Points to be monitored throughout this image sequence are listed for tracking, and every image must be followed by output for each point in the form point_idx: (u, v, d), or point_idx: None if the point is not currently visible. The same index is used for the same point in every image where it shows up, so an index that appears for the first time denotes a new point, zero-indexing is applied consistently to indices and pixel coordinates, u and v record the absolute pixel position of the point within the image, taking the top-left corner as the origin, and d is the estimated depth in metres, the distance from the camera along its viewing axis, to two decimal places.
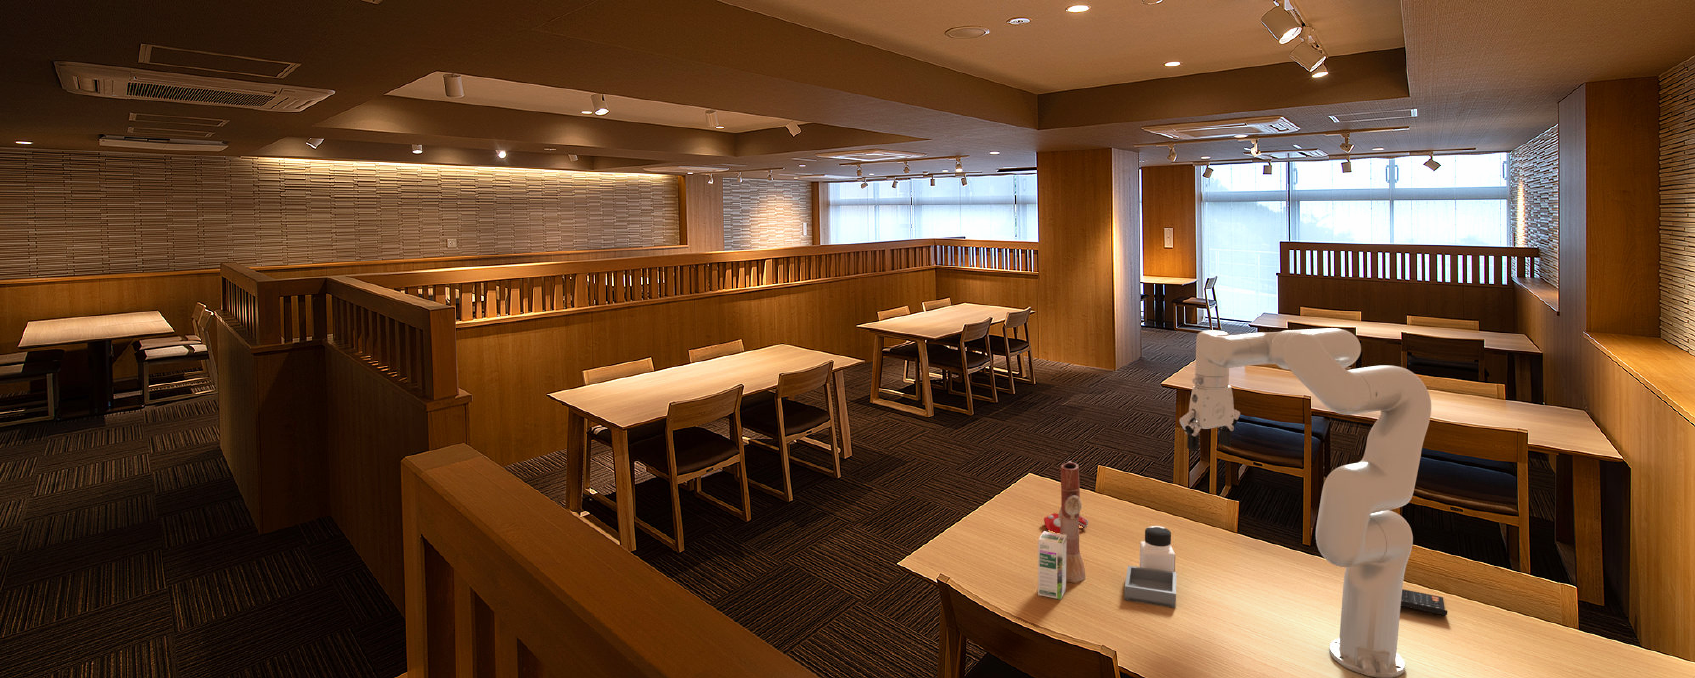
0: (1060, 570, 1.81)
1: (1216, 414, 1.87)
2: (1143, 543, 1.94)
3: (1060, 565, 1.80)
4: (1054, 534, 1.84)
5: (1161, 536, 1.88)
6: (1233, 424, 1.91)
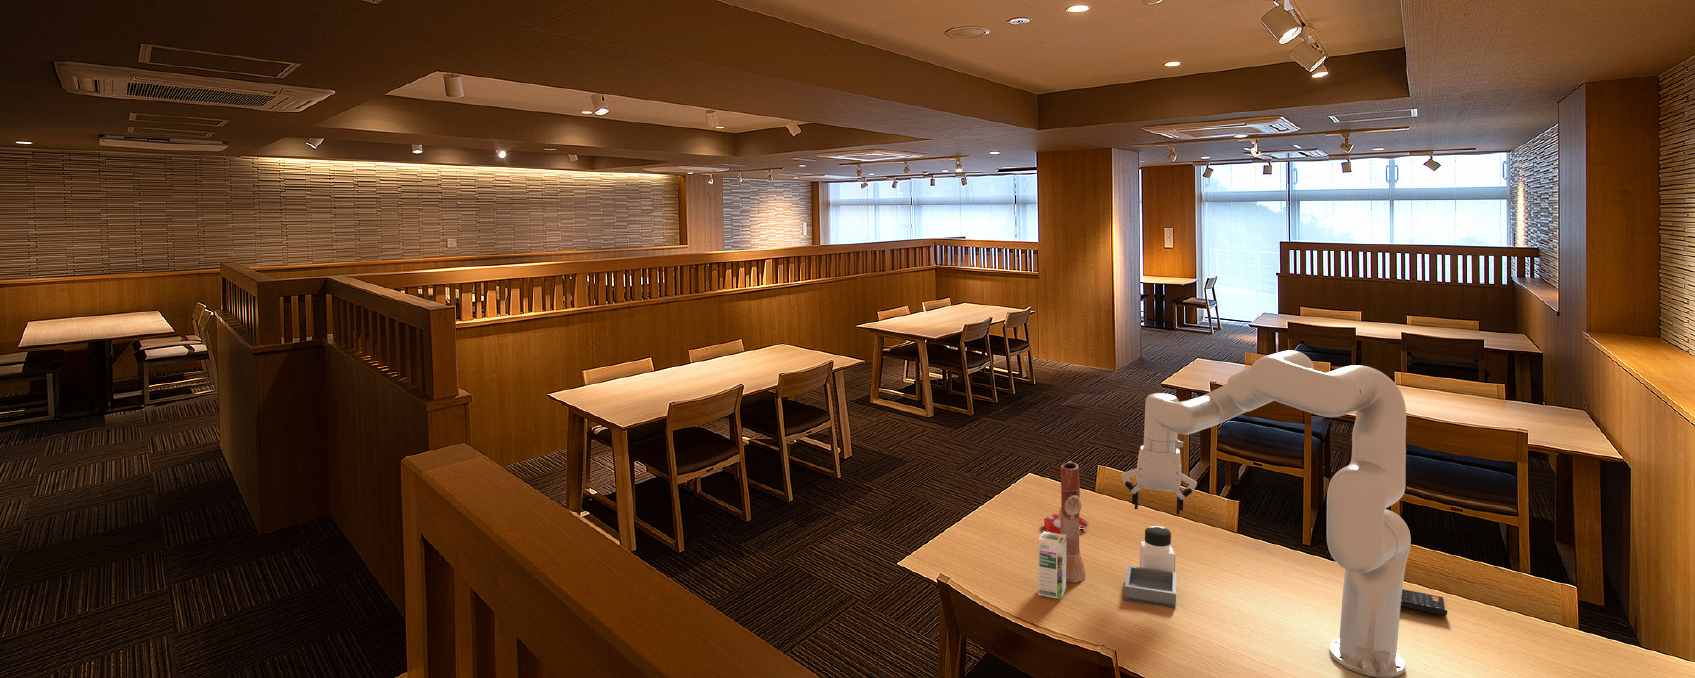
0: (1060, 570, 1.81)
1: None
2: (1143, 543, 1.94)
3: (1060, 565, 1.80)
4: (1054, 534, 1.84)
5: (1161, 536, 1.88)
6: None
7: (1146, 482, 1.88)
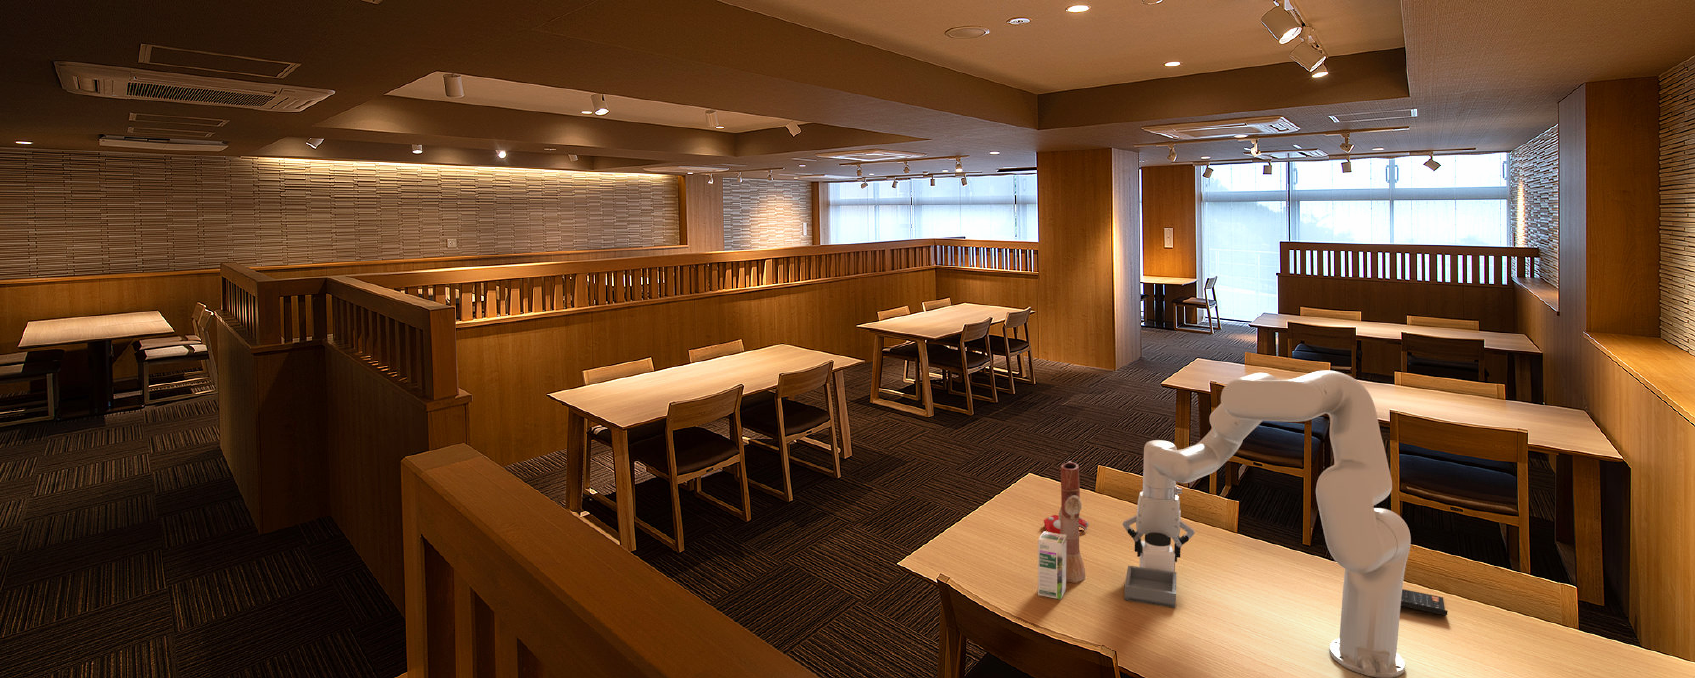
0: (1060, 570, 1.81)
1: None
2: (1143, 543, 1.94)
3: (1060, 565, 1.80)
4: (1054, 534, 1.84)
5: (1161, 536, 1.88)
6: None
7: (1146, 528, 1.90)
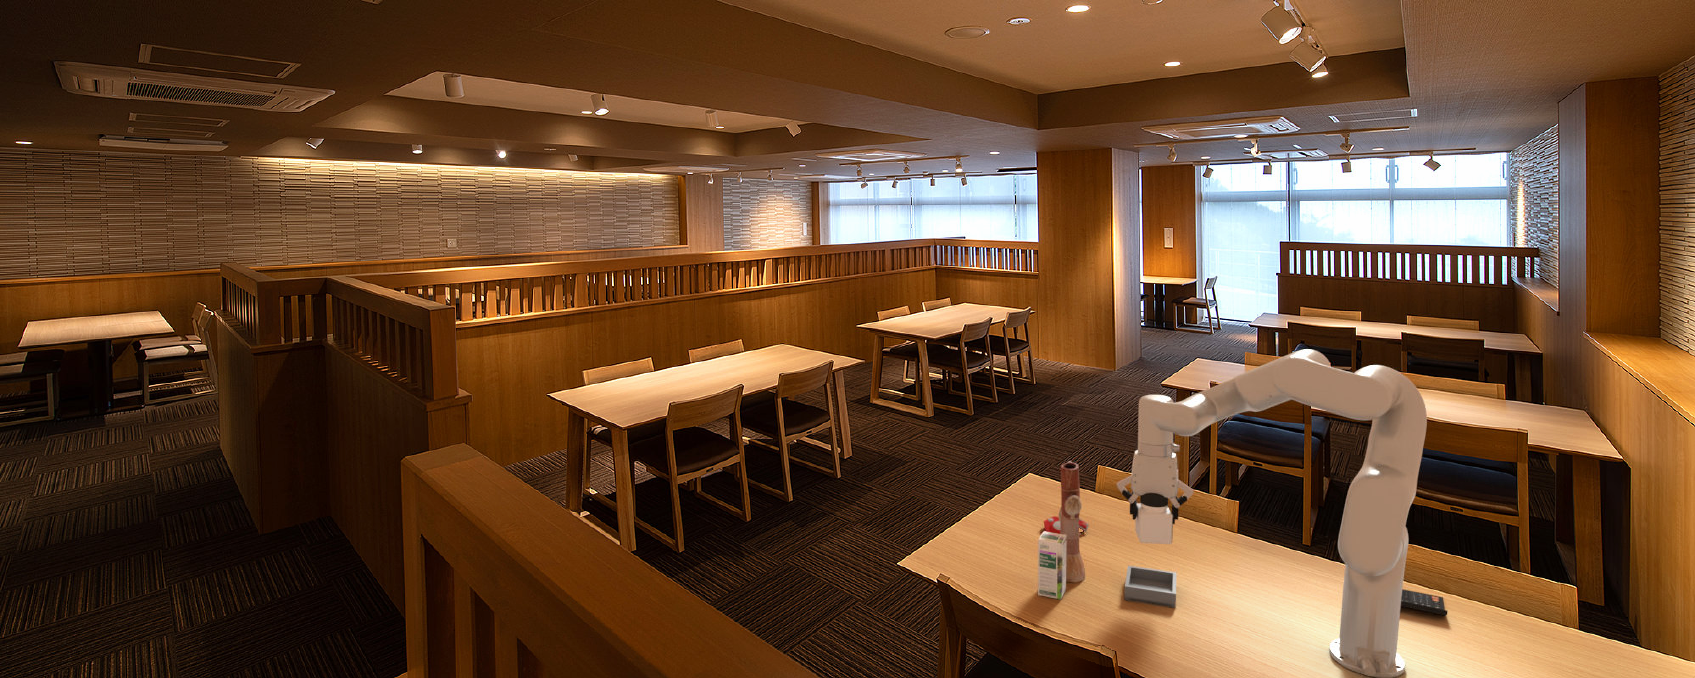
0: (1060, 570, 1.81)
1: None
2: (1139, 505, 1.82)
3: (1060, 565, 1.80)
4: (1054, 534, 1.84)
5: (1158, 496, 1.76)
6: None
7: (1141, 489, 1.78)
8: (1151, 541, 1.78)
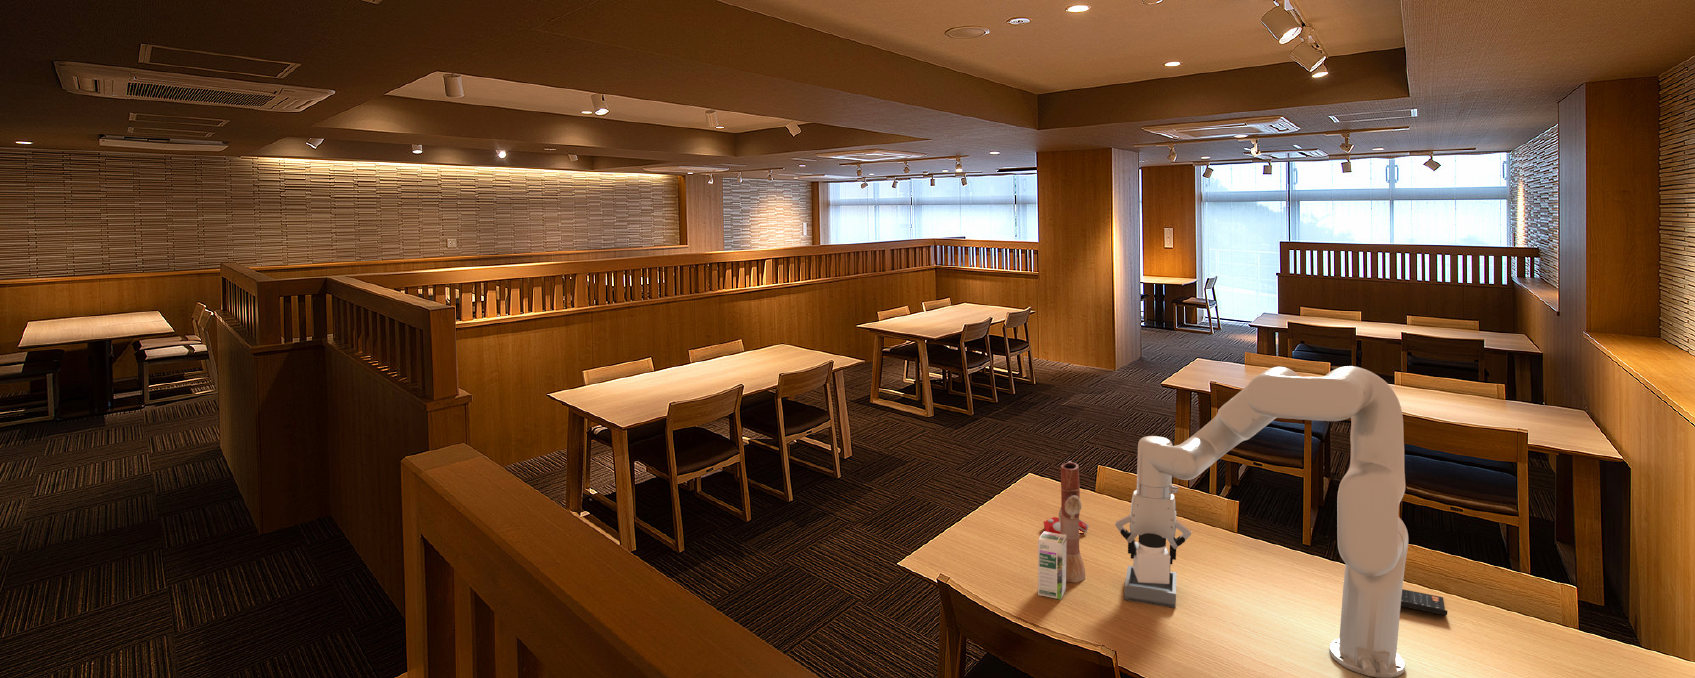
0: (1060, 570, 1.81)
1: None
2: (1137, 544, 1.84)
3: (1060, 565, 1.80)
4: (1054, 534, 1.84)
5: (1156, 537, 1.78)
6: None
7: (1140, 529, 1.80)
8: (1149, 581, 1.80)
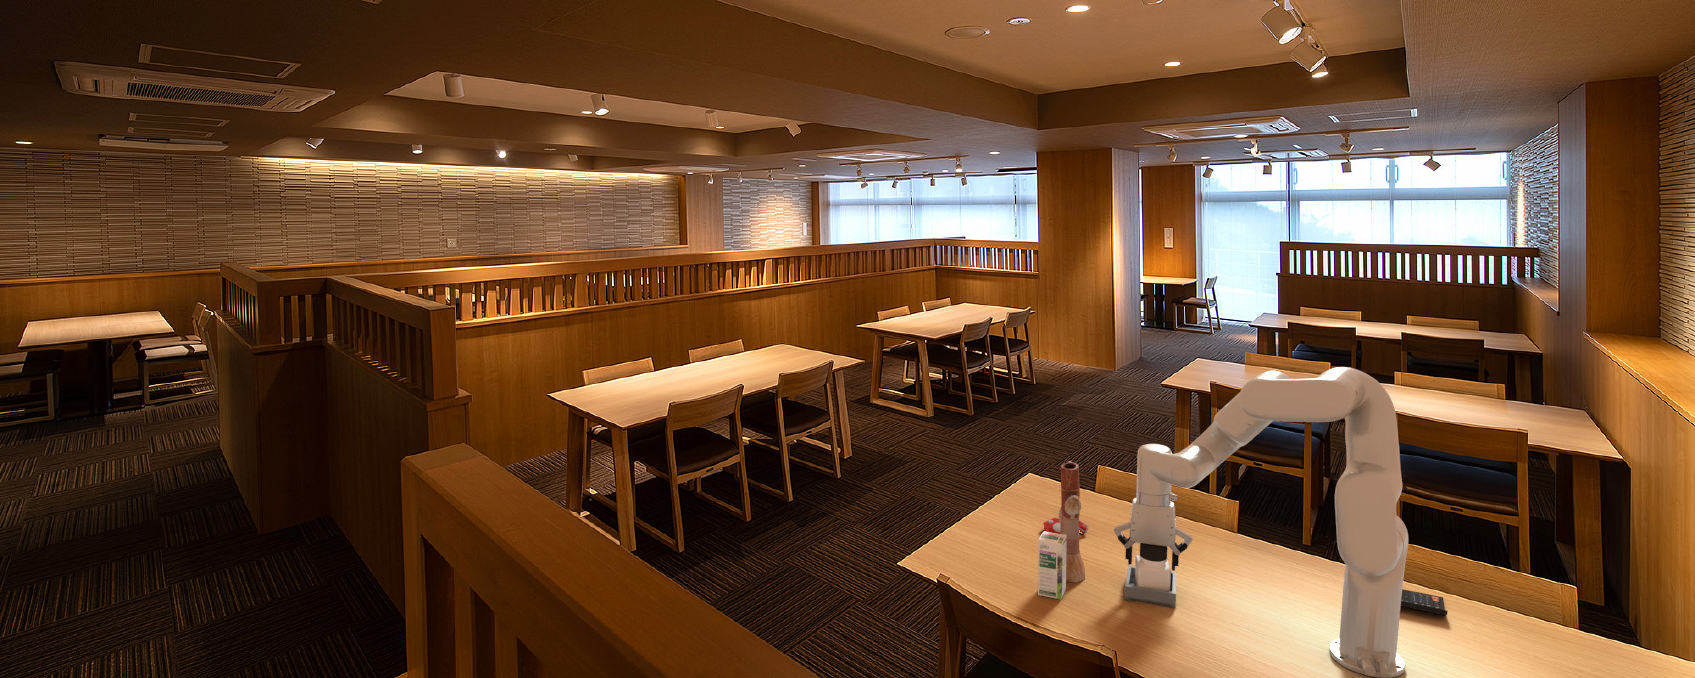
0: (1060, 570, 1.81)
1: None
2: (1138, 557, 1.84)
3: (1060, 565, 1.80)
4: (1054, 534, 1.84)
5: (1156, 550, 1.78)
6: None
7: (1139, 537, 1.80)
8: None
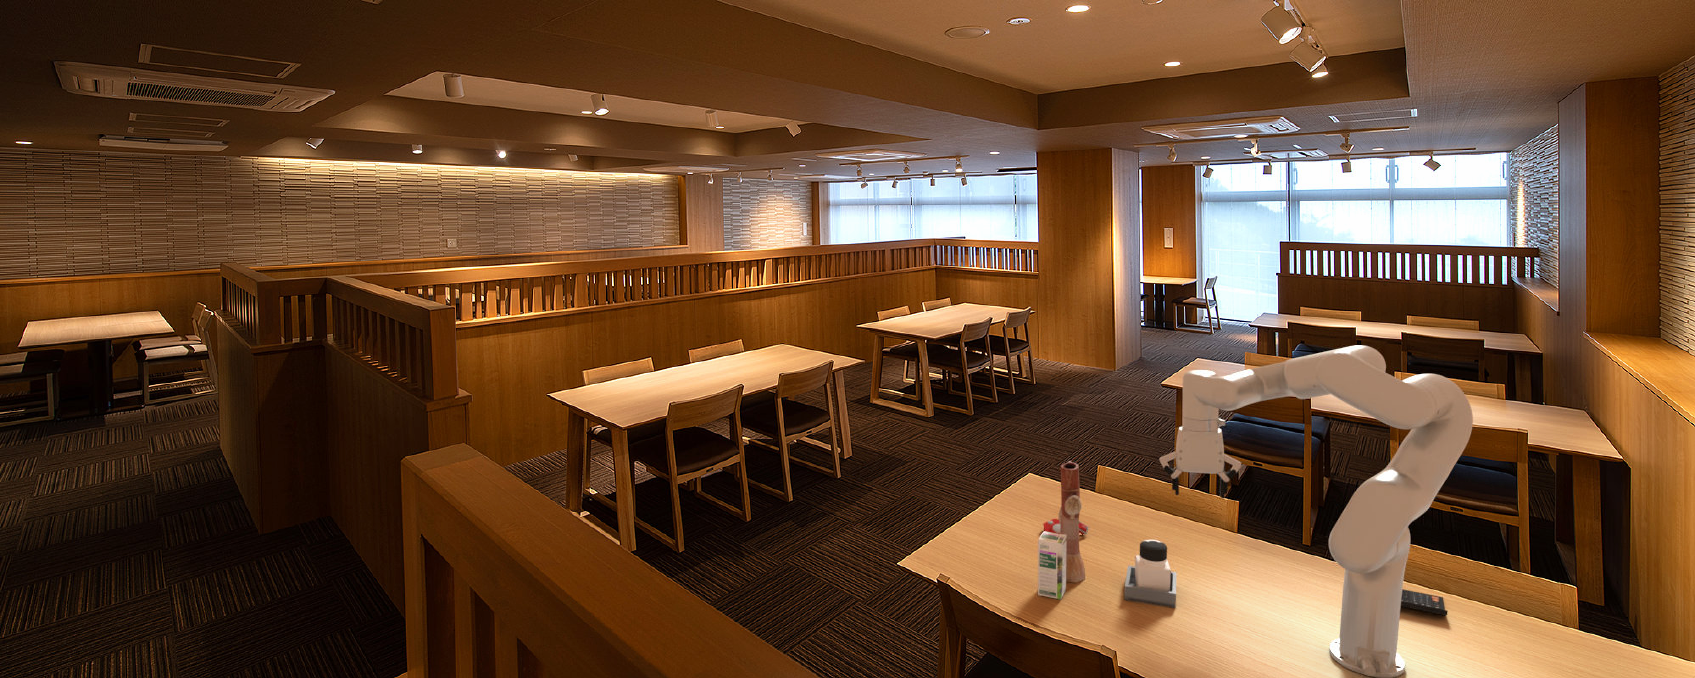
0: (1060, 570, 1.81)
1: None
2: (1138, 557, 1.84)
3: (1060, 565, 1.80)
4: (1054, 534, 1.84)
5: (1156, 550, 1.78)
6: None
7: (1187, 465, 1.77)
8: None
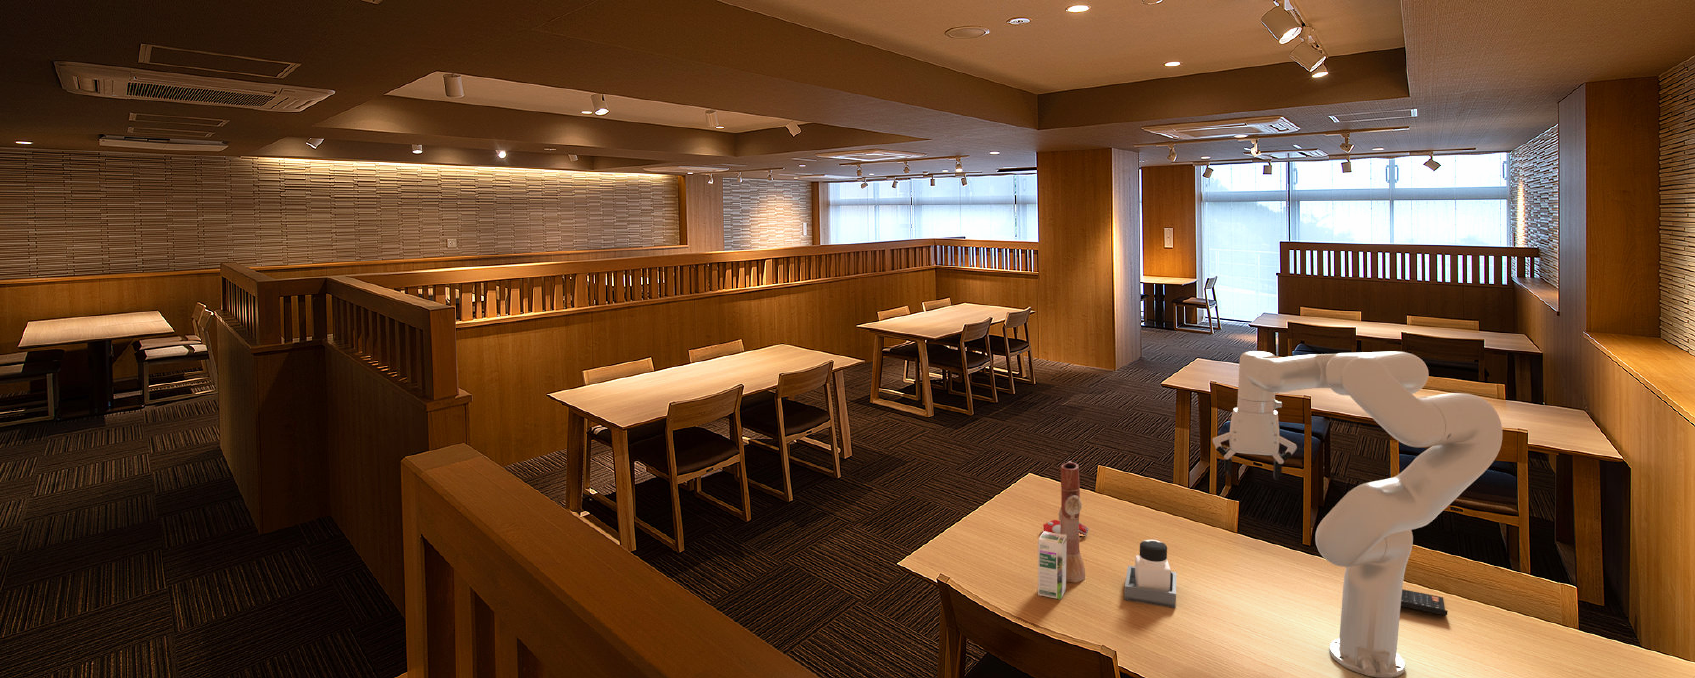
0: (1060, 570, 1.81)
1: None
2: (1138, 557, 1.84)
3: (1060, 565, 1.80)
4: (1054, 534, 1.84)
5: (1156, 550, 1.78)
6: None
7: (1241, 446, 1.77)
8: None
